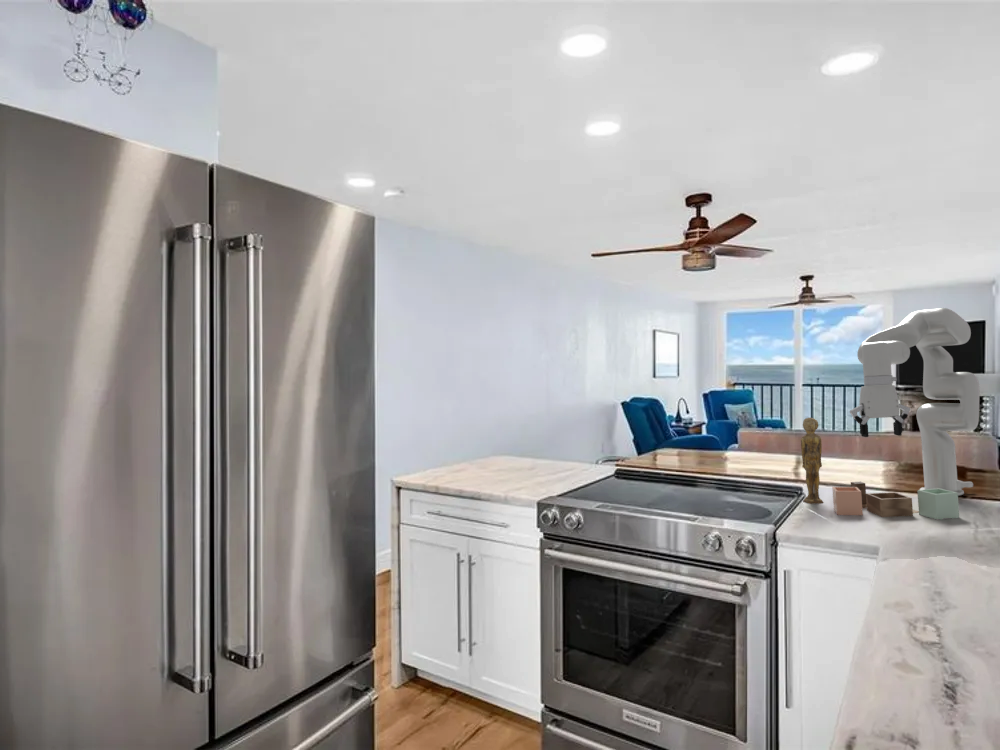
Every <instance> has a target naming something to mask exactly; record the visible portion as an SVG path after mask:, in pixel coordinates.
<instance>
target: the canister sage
mask: <svg viewBox="0 0 1000 750" xmlns="http://www.w3.org/2000/svg"><path fill="white" fill-rule="evenodd" d="M916 492H917V503H918V504H917V505H918V511H919V513H918V515H920V516H923V517H927V518H929V519H933V518H934V519H933V520H936V519H940V520H944V519H943V518H952V519H959V518H960V508H959V496H958V493H957V492H953V491H948V490H944V489H939V488H938V489H926V490H920V489H917V491H916Z"/></svg>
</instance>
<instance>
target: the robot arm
mask: <svg viewBox="0 0 1000 750" xmlns="http://www.w3.org/2000/svg"><path fill="white" fill-rule="evenodd" d="M971 331H972V330H971V327H970V325H969V323H968V322H967V321H966V320H965V319H964V318H963V317H962V316H960V315H959V314H958V313H957V312H955V311H954V310H952V309H949V308H947V307H940V308H929V309H921V310H916V311H913V312H910V313H909V314H907V315H906V317H904V318H902V320H901V321H900V322H899V323H898V324H896V325H895V326H892V327H889V328H887V329H885V330H883V331H882V330H881V331H879V332H877V333H875V334H873V335H870V336H868V337H867V338H866V339H864V341H863V342H862V343H861V344H860V345H859V347H858V350H857V359H858V361H859V362H860V363H861V364H862V367H863V368H862V369H863V371H862V372H863V385H864V386H861V387H860V394H859V404H858V406H856V407H855V408H852V409H851V410H849V413H850V415H851V417H852V418H853V420H854V421H856V422H857V424H858V425H859V433H860V435H861V437H862V438H868V437H869V426H868V424H867V423H868V421H869V420H870V419H879V418H880V419H881V418H882V419H883V418H892V420H893V423H892V424H893V434H894V436H899V437H900V436H902V433H903V423H904V421H905V420H906V419H907V417H908V415H909V414H910V411H911V408H910V407H908V406H906V405H903V404H901V403H899V402H900V401H899V396H898V393H897V390H896V386H895V385H893V383H894V382H896V381H897V377H896V376H893V374H892V366H893V365H900V364H903V363H905V362H907V361H908V359H909V358H910V357H911V356H910V355H911V348H912V347H914V346H916V348H917V350H918V351H919V353H920V356H921V357H922V360H923V371H922V372H923V373H922V374H923V375H922V376H923V377H922V379H923V380H922V391H923V395H924V397H926V398H927V399H930V400H942V401H943V400H944V401H945V400H946V401H947V400H949V401H950V400H954V401H956V400H957V401H958V400H959V402H960V403H959V402H957V403H956V402H955V403H954V402H953V403H952V402H951V403H950V402H932V403H931V402H930V403H924V404H922V405H921V406H919V407H918V409H917V410H916V420H917V425H918V428H919V432H920V441H921V452H922V467H923V469H922V470H923V483H924V487H923V486H922V487H920V488H919V490H926V489H938V488H939V489H944V490H948V491H953V492H957V493H958V497H959V496H962V495H963V496H964V494H965V492H964V490H963V489H964V488H973V487H974V483H973V482H972V481H963V480H959V479H958V469H957V468H958V467H957V457H956V453H957V452H956V443H955V440H954V439H953V437H952V436H951V435H950V434H949V433H948V432H953V431H954V432H971V431H975V430H976V428H978V425H979V420H980V395H981V394H980V382H979V380H978V377H977V375H975V374H974V373H973V372H969V371H956V372H955V371H954V358H953V356H952V355H951V354H950V352H948V351H947V350H946V349H945V348H944V347H947V346H960V345H964V344H966V343H968V342H969V340H970V339H971V334H972V332H971ZM900 410H901V411H902V412H901V414H900ZM858 412H859V415H858Z"/></svg>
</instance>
